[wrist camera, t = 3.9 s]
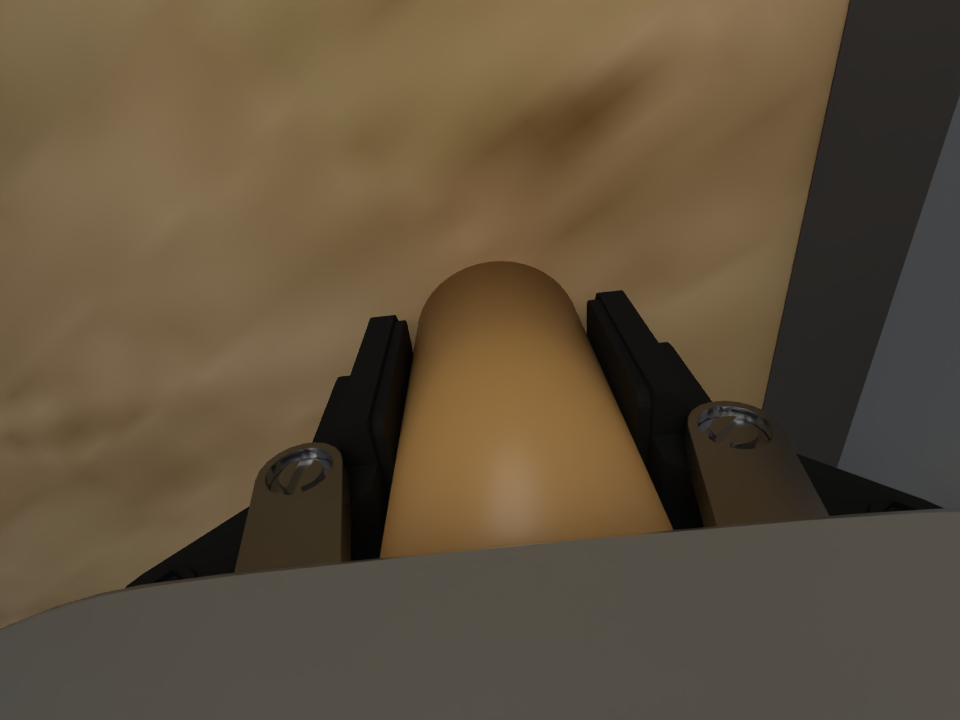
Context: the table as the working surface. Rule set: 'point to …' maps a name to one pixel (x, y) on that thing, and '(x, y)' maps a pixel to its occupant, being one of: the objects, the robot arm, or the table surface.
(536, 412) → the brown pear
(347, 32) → the table surface
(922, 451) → the housing
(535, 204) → the table surface
